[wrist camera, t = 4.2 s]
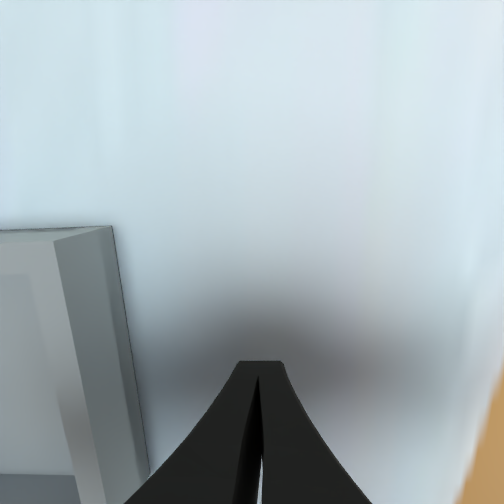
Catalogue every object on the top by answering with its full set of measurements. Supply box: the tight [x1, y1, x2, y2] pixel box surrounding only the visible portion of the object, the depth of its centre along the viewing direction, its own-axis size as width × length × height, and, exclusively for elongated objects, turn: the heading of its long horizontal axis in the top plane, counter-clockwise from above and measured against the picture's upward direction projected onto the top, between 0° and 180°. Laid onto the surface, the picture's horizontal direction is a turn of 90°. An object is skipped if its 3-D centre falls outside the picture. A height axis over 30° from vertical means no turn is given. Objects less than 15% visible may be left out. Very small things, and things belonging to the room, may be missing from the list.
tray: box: [0, 226, 150, 504], centre depth 9 cm, size 7×10×3 cm
